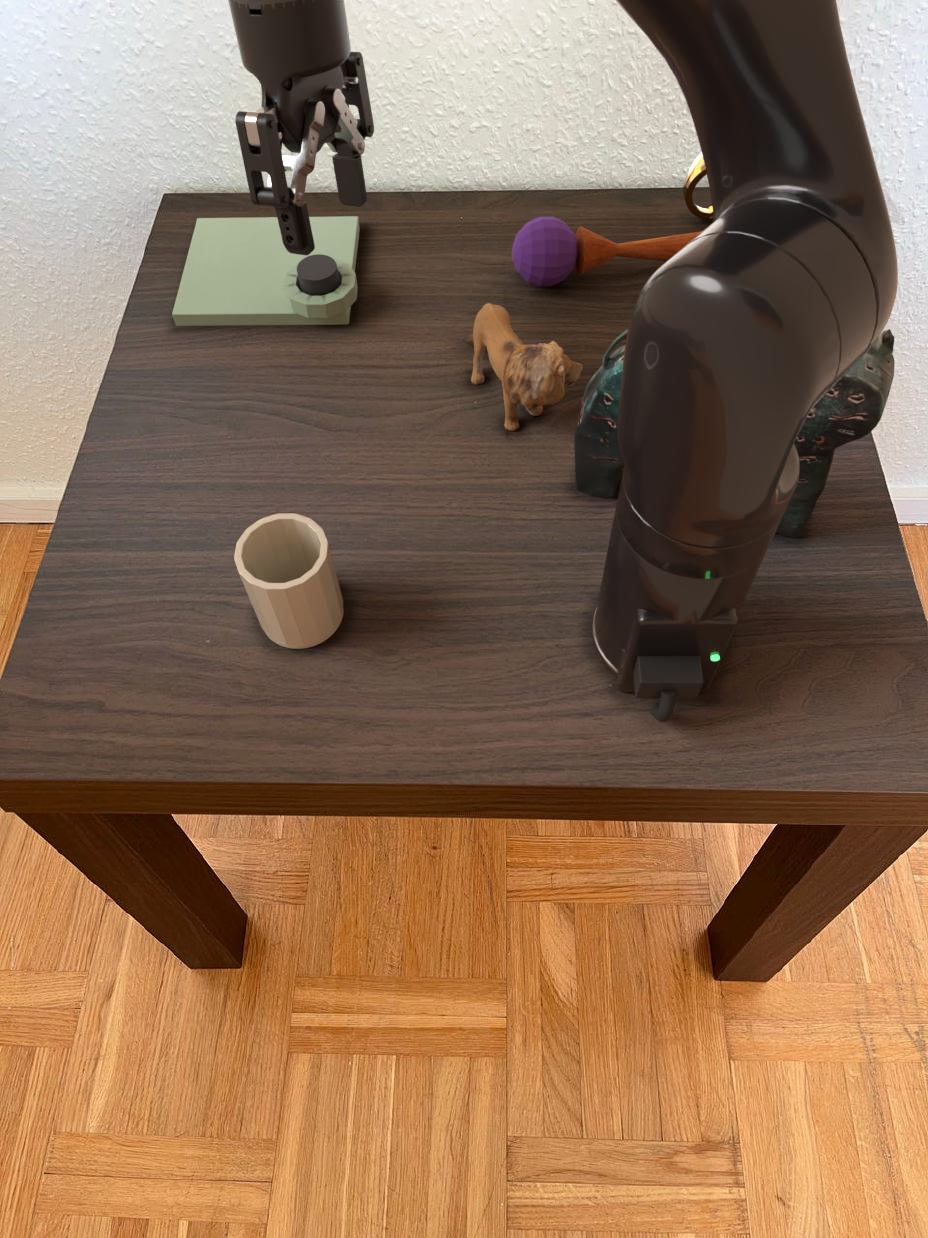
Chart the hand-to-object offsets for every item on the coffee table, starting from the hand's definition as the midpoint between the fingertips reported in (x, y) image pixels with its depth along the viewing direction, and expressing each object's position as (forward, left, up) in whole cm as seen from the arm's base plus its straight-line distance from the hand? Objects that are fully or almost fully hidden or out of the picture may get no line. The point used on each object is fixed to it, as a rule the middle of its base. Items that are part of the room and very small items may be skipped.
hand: (328, 227), depth 71 cm
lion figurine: (-6, -15, -13) cm, 20 cm away
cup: (-28, +1, -12) cm, 30 cm away
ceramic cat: (-18, -29, -13) cm, 36 cm away
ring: (+18, -35, -13) cm, 41 cm away
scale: (+10, +8, -12) cm, 18 cm away
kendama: (+10, -25, -13) cm, 30 cm away
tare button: (+6, +3, -10) cm, 12 cm away
